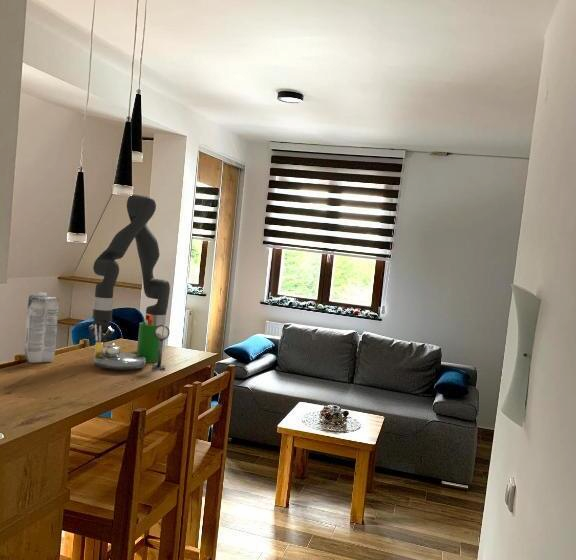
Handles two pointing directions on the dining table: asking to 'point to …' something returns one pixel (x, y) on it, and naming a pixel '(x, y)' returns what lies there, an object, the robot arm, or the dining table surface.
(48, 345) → the juice carton
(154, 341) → the green bottle
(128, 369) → the turntable base
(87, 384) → the dining table surface
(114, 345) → the cover
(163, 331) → the metal disc on rod
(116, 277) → the robot arm
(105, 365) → the turntable
